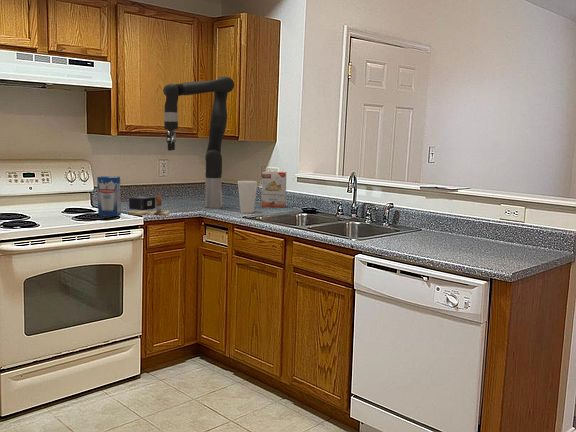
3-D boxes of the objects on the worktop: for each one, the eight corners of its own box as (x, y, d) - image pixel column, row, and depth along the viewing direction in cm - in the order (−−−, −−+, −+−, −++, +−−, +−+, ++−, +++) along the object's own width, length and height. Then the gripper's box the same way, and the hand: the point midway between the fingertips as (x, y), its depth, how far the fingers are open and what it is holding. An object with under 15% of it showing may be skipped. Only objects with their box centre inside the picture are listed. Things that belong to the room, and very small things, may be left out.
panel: (169, 213, 326) (169, 211, 326) (166, 215, 317) (166, 213, 317) (132, 212, 326) (132, 210, 326) (128, 214, 317) (128, 212, 317)
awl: (162, 211, 323) (161, 195, 322) (160, 212, 320) (160, 195, 319) (156, 211, 323) (156, 194, 322) (155, 212, 320) (155, 195, 319)
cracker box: (261, 207, 359) (261, 171, 356) (262, 205, 365) (263, 171, 362) (284, 207, 357) (285, 172, 354) (285, 206, 363) (286, 171, 360)
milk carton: (121, 214, 317) (120, 176, 314) (117, 216, 310) (116, 177, 308) (102, 214, 317) (101, 176, 314) (98, 216, 311) (97, 177, 308)
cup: (249, 210, 343) (249, 180, 340) (260, 212, 335) (261, 181, 333) (233, 212, 335) (233, 181, 333) (244, 214, 328) (245, 182, 325)
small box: (143, 198, 336) (128, 197, 340) (143, 209, 337) (128, 209, 341) (155, 196, 345) (140, 195, 350) (155, 208, 346) (141, 207, 351)
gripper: (166, 120, 342) (167, 149, 344) (161, 120, 328) (161, 150, 330) (180, 121, 342) (180, 150, 344) (175, 120, 328) (175, 150, 330)
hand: (171, 150), depth 337 cm, fingers open, 8 cm apart
